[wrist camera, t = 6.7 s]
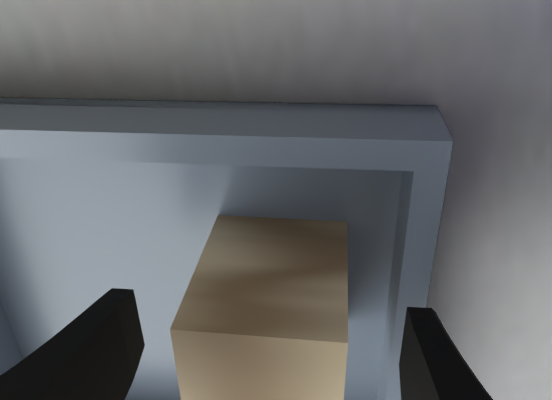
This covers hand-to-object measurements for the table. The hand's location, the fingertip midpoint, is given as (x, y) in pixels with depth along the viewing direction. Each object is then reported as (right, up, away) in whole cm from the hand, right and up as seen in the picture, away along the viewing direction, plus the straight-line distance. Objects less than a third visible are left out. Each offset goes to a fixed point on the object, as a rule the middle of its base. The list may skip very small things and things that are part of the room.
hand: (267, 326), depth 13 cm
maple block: (0, +1, +3) cm, 3 cm away
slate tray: (-3, 0, +5) cm, 6 cm away
